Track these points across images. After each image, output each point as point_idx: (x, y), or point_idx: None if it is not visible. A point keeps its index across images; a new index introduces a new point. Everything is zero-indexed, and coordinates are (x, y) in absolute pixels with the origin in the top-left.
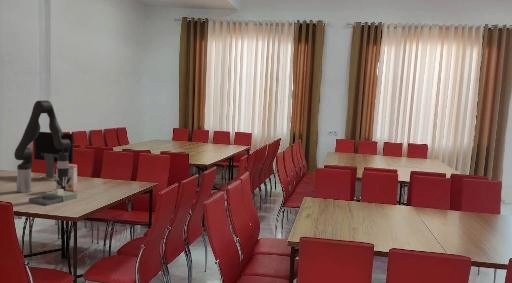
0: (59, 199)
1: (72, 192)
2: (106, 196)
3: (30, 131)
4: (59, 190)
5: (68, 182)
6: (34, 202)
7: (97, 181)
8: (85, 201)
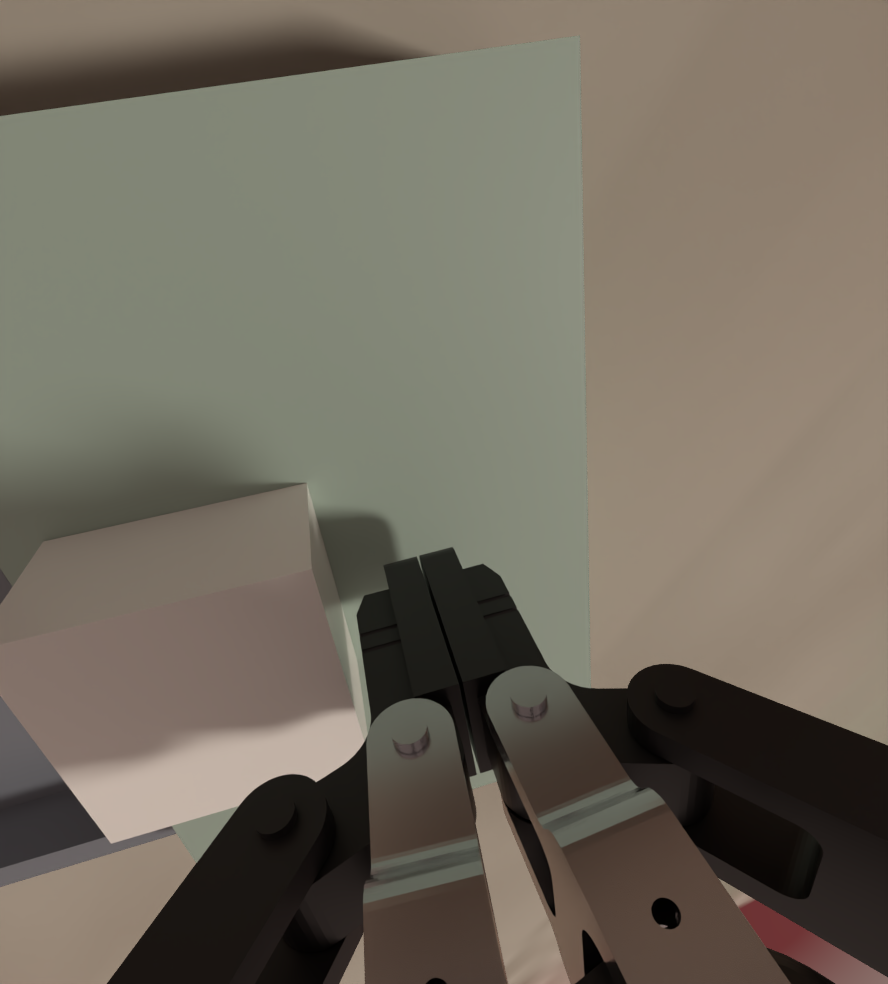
0: (108, 843)
1: (577, 663)
2: (865, 729)
3: None
4: (196, 804)
5: (760, 834)
6: None
7: None
8: (497, 849)
